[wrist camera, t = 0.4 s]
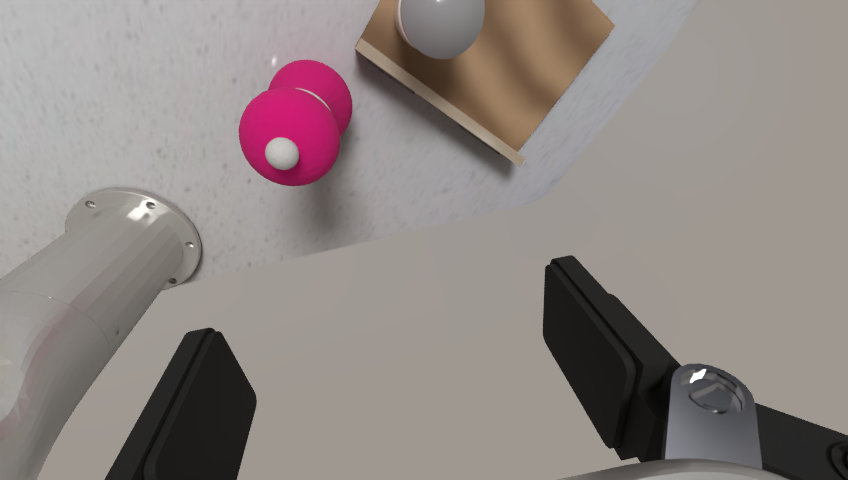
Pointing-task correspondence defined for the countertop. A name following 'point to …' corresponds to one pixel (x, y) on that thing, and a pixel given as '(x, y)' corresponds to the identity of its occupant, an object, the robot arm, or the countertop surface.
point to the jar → (439, 25)
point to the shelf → (496, 65)
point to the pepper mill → (296, 124)
